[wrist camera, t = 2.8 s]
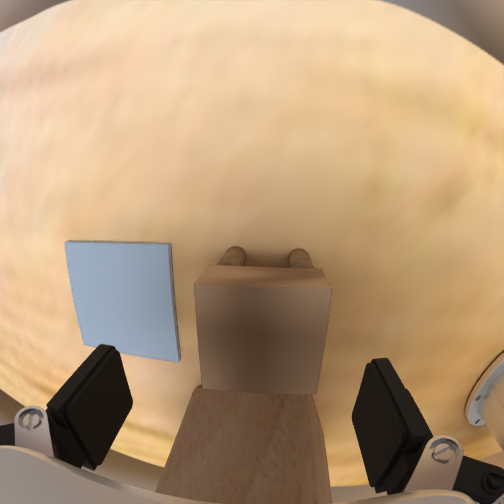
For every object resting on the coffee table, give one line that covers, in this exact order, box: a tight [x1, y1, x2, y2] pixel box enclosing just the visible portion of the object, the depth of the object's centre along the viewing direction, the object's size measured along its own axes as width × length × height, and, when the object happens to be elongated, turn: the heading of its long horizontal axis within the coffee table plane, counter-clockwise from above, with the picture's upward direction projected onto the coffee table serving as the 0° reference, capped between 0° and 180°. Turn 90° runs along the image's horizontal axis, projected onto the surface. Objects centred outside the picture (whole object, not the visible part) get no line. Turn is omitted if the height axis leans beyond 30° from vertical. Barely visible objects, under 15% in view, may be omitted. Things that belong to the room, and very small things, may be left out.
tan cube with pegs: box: [194, 247, 332, 394], centre depth 17 cm, size 6×6×8 cm
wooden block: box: [155, 387, 332, 504], centre depth 14 cm, size 10×10×20 cm
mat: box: [65, 241, 181, 362], centre depth 22 cm, size 10×10×1 cm
